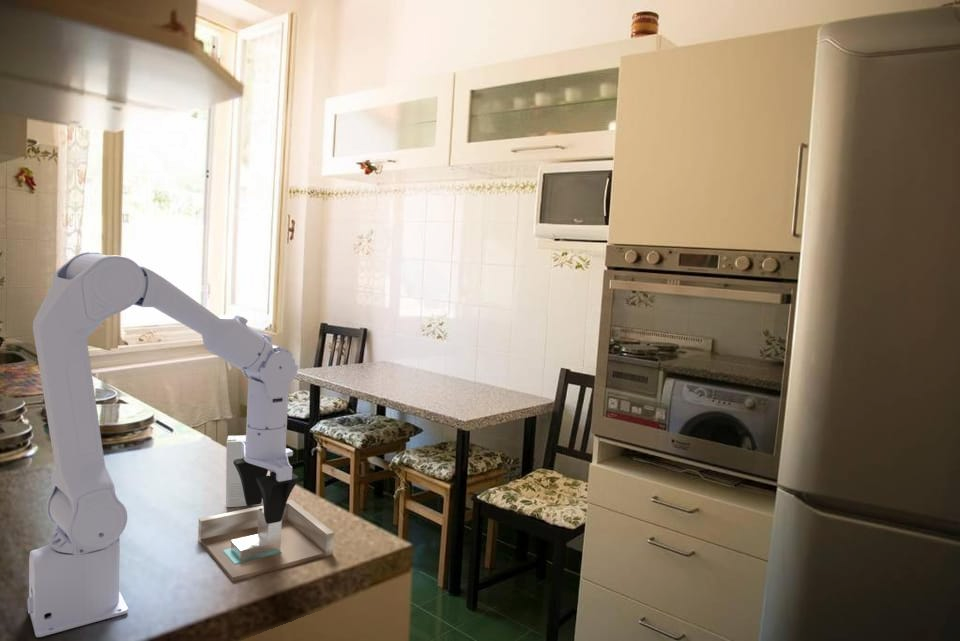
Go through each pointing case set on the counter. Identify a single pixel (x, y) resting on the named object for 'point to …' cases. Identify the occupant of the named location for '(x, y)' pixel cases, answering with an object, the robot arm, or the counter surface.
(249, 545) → the aluminium bracket
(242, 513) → the corner arena
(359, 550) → the counter surface
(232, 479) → the skincare box
